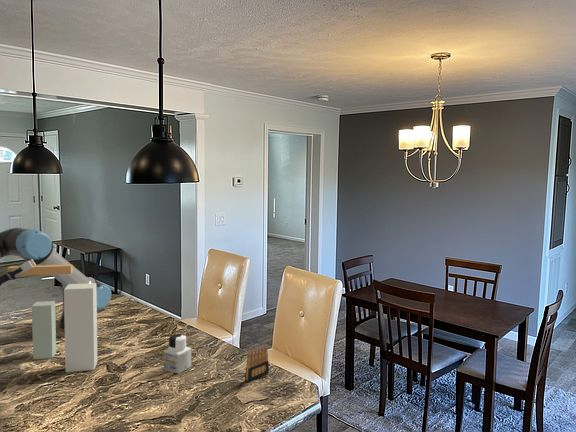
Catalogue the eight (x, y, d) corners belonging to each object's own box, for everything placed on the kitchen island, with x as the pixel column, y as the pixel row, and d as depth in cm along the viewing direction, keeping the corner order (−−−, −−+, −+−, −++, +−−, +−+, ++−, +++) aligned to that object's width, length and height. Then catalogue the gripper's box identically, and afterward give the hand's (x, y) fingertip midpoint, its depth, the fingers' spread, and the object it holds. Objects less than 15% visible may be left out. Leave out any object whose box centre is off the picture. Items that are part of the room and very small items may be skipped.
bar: (10, 274, 161) (10, 266, 161) (72, 272, 166) (72, 264, 166) (7, 276, 158) (7, 267, 158) (70, 273, 164) (70, 266, 163)
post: (70, 363, 172) (68, 284, 169) (97, 361, 174) (96, 283, 172) (65, 372, 164) (63, 289, 161) (94, 369, 167) (92, 288, 164)
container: (163, 369, 168) (163, 337, 167) (176, 362, 175) (176, 331, 174) (178, 374, 165) (178, 340, 164) (191, 366, 172) (191, 334, 171)
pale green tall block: (37, 353, 180) (36, 301, 178) (56, 352, 182) (55, 301, 180) (33, 359, 175) (31, 306, 173) (52, 358, 176) (51, 305, 175)
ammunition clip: (248, 382, 160) (248, 350, 159) (244, 380, 161) (245, 349, 160) (268, 373, 168) (269, 343, 167) (265, 371, 169) (266, 341, 168)
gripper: (-15, 299, 165) (44, 267, 170) (-34, 312, 150) (31, 276, 154) (-27, 283, 164) (32, 251, 168) (-47, 294, 148) (19, 258, 153)
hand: (32, 263), depth 161 cm, fingers closed on bar, 3 cm apart
